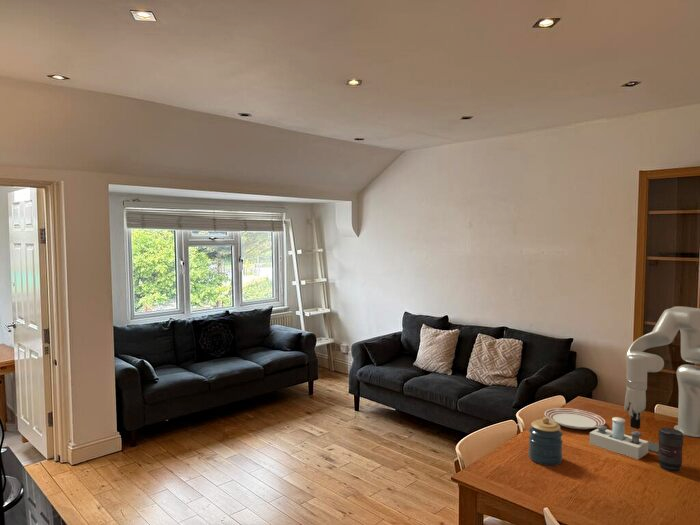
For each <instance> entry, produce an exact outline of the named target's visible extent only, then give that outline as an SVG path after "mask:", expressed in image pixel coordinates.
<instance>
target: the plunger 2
mask: <svg viewBox="0 0 700 525" xmlns="http://www.w3.org/2000/svg"><path fill="white" fill-rule="evenodd" d="M629 434H630V436H632V443H635V444H639V439H640V437H641V436H642V432H640V431H638V430H630V433H629Z"/></svg>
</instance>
